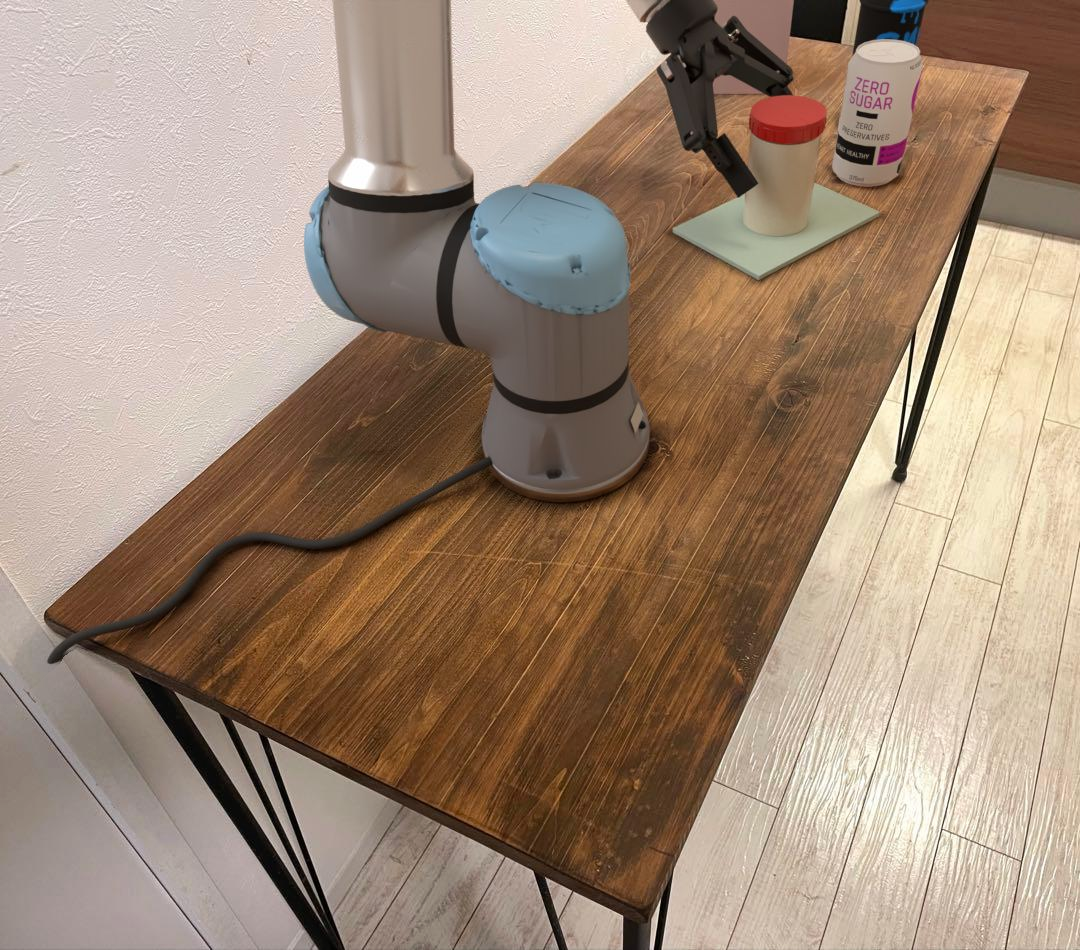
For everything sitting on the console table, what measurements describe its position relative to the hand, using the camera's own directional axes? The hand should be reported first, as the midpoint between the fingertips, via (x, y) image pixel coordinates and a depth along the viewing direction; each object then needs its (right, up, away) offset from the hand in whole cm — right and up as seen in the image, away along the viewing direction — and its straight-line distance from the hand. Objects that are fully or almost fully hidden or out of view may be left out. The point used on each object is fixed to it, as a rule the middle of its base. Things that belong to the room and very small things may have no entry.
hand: (779, 165), depth 103 cm
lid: (0, +4, -4) cm, 6 cm away
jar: (+1, -5, +5) cm, 7 cm away
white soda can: (+14, +3, +12) cm, 19 cm away
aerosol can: (+18, +13, +22) cm, 32 cm away
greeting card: (+3, +22, +32) cm, 39 cm away
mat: (+1, -5, +5) cm, 7 cm away
